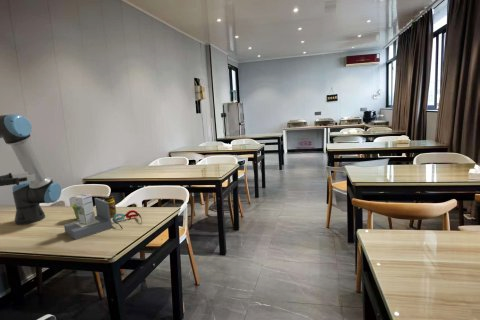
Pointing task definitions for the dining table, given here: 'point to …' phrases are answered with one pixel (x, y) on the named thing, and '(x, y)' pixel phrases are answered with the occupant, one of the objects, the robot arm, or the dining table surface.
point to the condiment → (111, 205)
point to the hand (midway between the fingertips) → (31, 175)
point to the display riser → (97, 226)
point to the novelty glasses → (126, 216)
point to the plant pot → (75, 210)
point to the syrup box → (85, 209)
